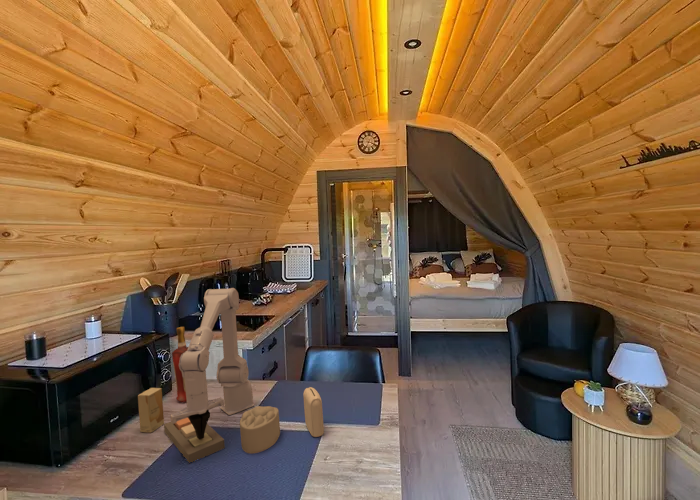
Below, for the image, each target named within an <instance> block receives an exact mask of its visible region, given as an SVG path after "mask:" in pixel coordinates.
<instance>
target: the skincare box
mask: <svg viewBox="0 0 700 500" xmlns="http://www.w3.org/2000/svg"><path fill="white" fill-rule="evenodd" d="M162 389H163V388H161V387H149V389H147V390H144V391H142V392H141V393H139V394H138V395H137V404H138V405H137V406H138V417H139V420H138V421H139V431H140V433H154V431H156V430H157V429H159V428H160V427H162V426H164V424H165V417H164V415H165V414H164V404H163V402H164V401H163V390H162Z"/></svg>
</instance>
